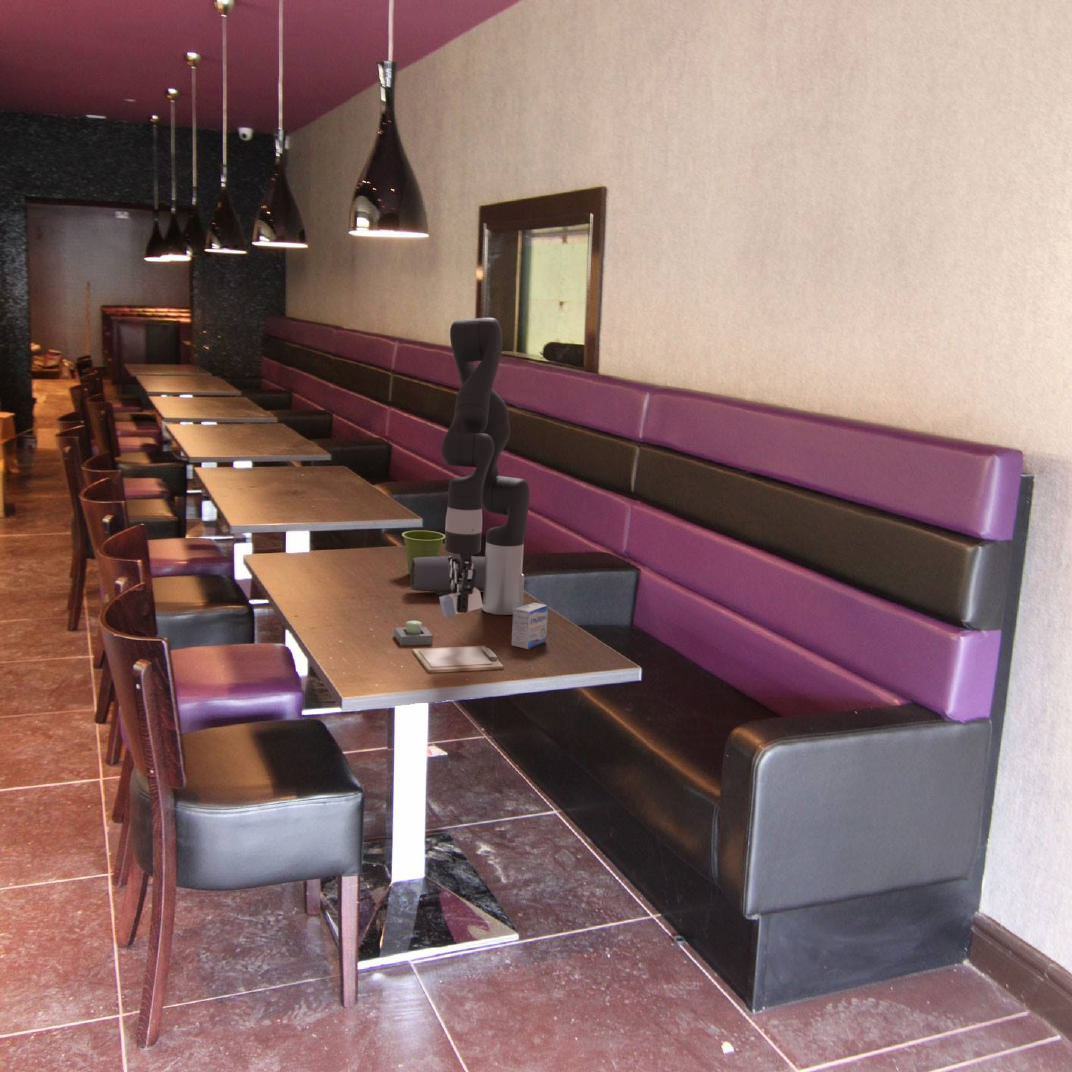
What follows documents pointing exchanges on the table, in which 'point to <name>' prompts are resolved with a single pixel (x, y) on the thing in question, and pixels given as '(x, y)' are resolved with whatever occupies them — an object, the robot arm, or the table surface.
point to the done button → (413, 627)
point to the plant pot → (422, 544)
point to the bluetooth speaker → (440, 574)
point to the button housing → (413, 637)
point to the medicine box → (529, 625)
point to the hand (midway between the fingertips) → (459, 609)
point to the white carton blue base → (450, 602)
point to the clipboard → (457, 659)
